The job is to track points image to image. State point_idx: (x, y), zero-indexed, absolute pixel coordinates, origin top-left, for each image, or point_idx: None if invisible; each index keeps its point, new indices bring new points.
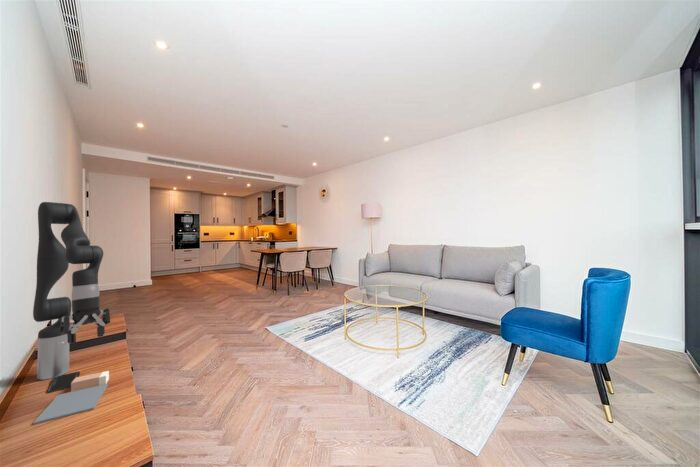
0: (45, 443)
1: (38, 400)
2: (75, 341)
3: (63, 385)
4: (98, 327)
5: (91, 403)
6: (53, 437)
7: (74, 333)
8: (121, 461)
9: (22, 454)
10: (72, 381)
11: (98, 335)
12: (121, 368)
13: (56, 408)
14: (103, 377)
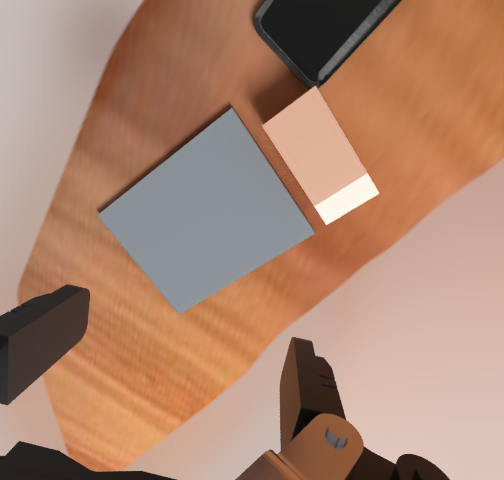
0: None
1: (202, 53)
2: (69, 347)
3: (305, 31)
4: (293, 427)
5: (194, 291)
6: None
7: (6, 387)
8: None
9: None
10: (275, 116)
11: (290, 353)
12: (483, 148)
13: (159, 207)
14: (321, 217)
